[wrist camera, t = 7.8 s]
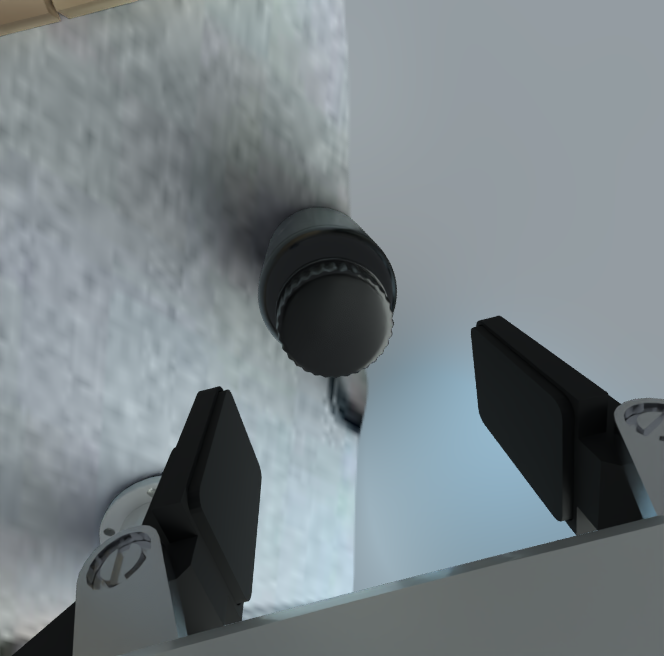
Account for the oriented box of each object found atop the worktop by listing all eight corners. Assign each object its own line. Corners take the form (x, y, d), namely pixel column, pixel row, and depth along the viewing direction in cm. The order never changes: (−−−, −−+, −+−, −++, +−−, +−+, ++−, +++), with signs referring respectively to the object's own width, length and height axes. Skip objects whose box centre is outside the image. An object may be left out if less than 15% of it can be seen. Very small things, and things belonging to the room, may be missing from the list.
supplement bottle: (256, 216, 26) (230, 255, 15) (360, 197, 26) (414, 222, 15) (278, 315, 28) (271, 412, 17) (373, 297, 28) (426, 382, 17)
